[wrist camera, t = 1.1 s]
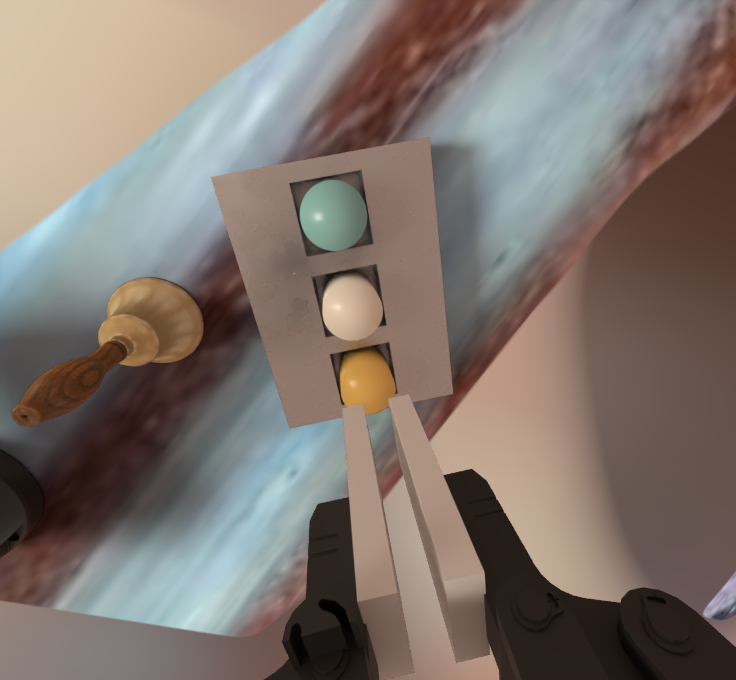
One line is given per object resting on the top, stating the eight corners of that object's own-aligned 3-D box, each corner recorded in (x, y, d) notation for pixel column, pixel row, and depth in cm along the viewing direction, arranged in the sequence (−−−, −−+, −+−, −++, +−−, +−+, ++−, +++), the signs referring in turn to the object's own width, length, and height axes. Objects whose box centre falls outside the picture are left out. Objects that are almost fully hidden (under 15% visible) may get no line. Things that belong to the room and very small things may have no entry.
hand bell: (129, 259, 31) (-53, 314, 16) (219, 307, 33) (134, 394, 18) (94, 334, 33) (-95, 445, 18) (181, 375, 35) (77, 502, 20)
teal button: (311, 248, 29) (308, 256, 25) (297, 188, 27) (292, 186, 23) (365, 237, 29) (372, 244, 25) (355, 177, 27) (360, 173, 23)
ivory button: (329, 326, 32) (329, 346, 28) (317, 276, 30) (316, 289, 26) (379, 316, 32) (387, 334, 28) (370, 266, 30) (377, 277, 26)
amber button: (344, 392, 34) (346, 419, 30) (334, 350, 33) (335, 372, 28) (390, 383, 35) (399, 408, 30) (383, 340, 33) (391, 361, 29)
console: (293, 403, 38) (289, 428, 33) (227, 180, 29) (210, 177, 25) (439, 372, 38) (453, 393, 34) (415, 145, 30) (429, 137, 26)
